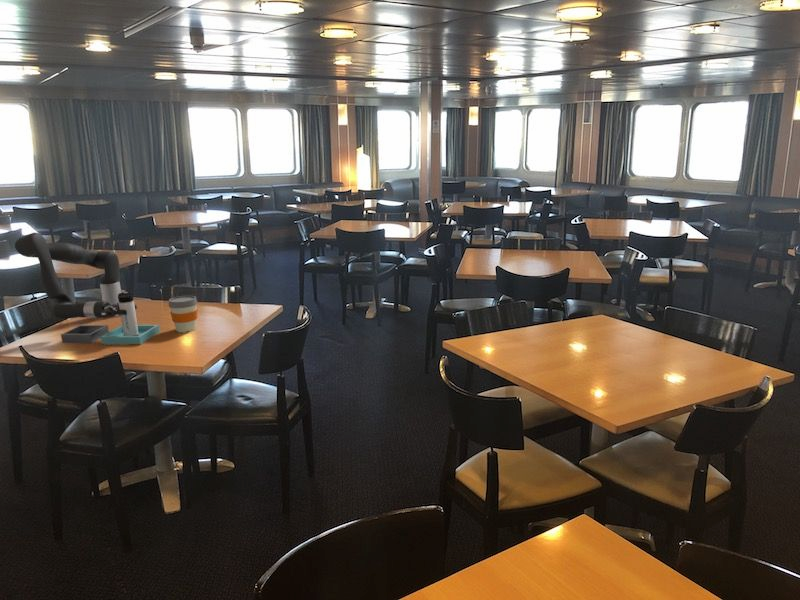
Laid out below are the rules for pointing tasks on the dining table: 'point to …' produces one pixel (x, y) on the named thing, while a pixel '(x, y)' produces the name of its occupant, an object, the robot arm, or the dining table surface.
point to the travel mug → (128, 314)
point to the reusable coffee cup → (183, 312)
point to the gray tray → (84, 334)
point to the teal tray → (119, 339)
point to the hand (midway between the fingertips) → (131, 309)
